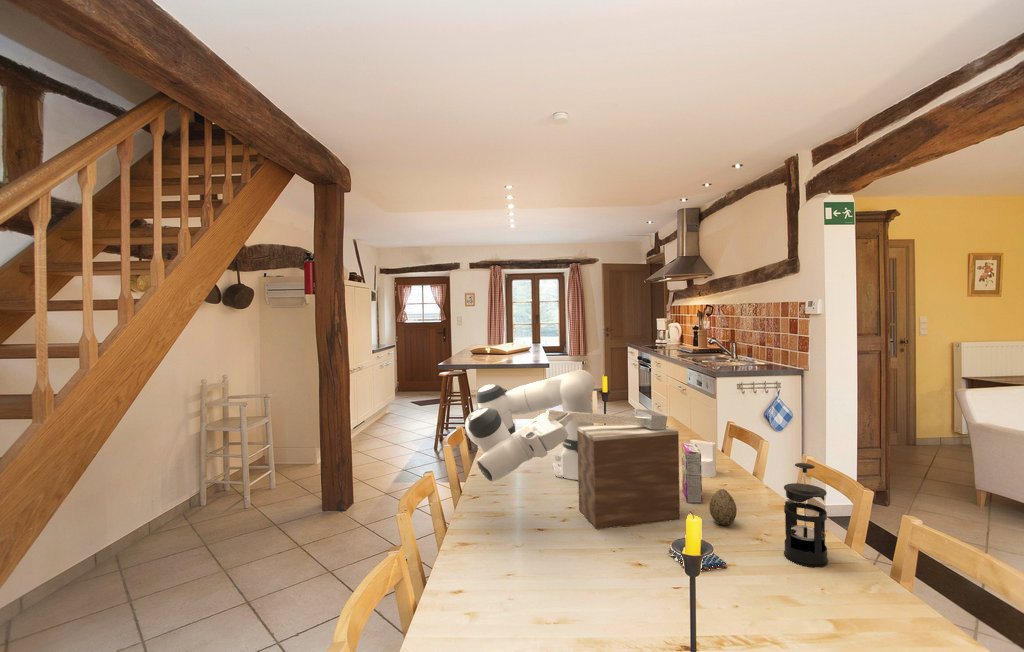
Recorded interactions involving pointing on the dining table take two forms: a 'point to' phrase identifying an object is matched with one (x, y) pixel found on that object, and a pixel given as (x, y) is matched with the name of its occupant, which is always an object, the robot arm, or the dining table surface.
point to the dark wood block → (628, 475)
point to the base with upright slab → (707, 457)
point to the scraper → (615, 418)
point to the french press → (802, 534)
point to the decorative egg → (723, 507)
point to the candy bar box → (691, 473)
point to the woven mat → (705, 561)
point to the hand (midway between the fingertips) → (569, 414)
